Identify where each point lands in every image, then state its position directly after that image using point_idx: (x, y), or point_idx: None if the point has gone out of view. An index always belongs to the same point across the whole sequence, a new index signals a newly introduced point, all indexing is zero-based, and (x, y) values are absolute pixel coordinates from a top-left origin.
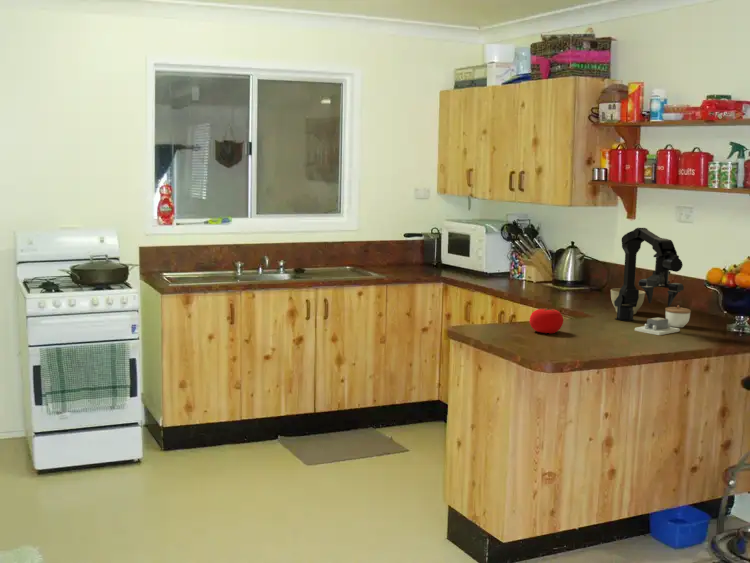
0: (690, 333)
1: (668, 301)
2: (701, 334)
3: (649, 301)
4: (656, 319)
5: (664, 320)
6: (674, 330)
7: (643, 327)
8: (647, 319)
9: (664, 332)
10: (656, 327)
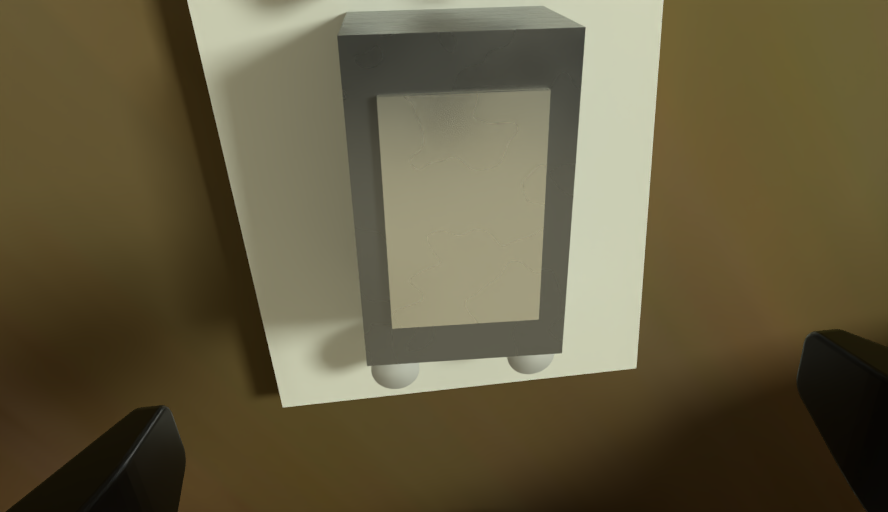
0: (143, 406)
1: (56, 506)
2: (52, 467)
3: (850, 352)
4: (417, 120)
5: (358, 267)
6: (258, 293)
7: (601, 1)
8: (575, 26)
9: (197, 28)
10: (345, 16)
